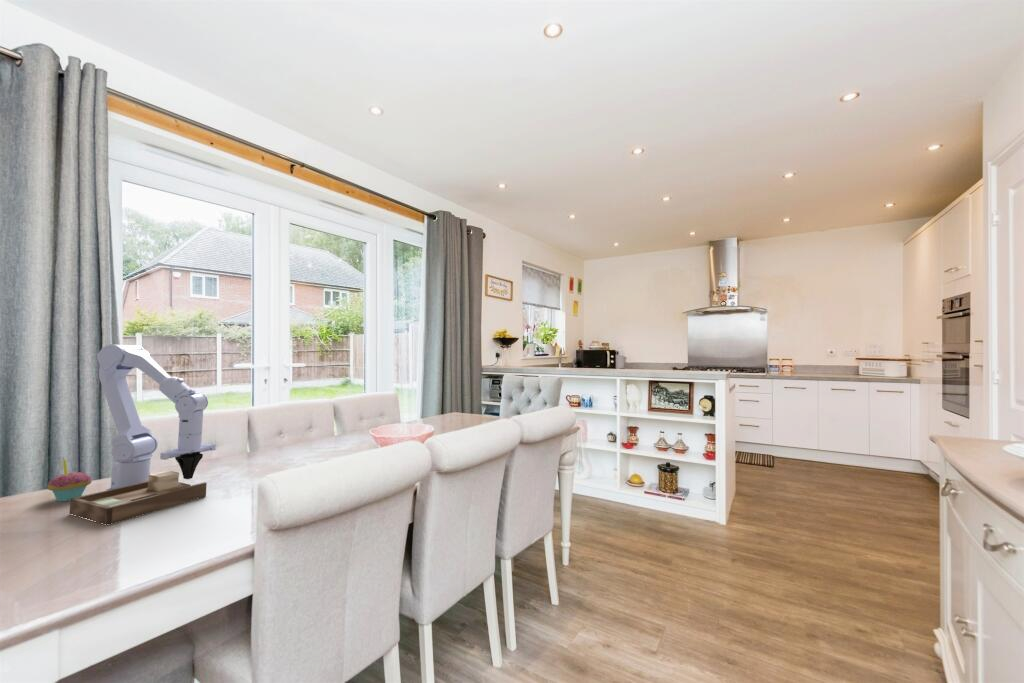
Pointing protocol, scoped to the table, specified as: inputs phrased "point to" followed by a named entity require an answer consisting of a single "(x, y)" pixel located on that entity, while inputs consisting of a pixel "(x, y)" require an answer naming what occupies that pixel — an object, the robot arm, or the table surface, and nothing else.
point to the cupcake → (69, 484)
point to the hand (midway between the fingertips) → (187, 478)
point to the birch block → (163, 480)
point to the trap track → (132, 501)
